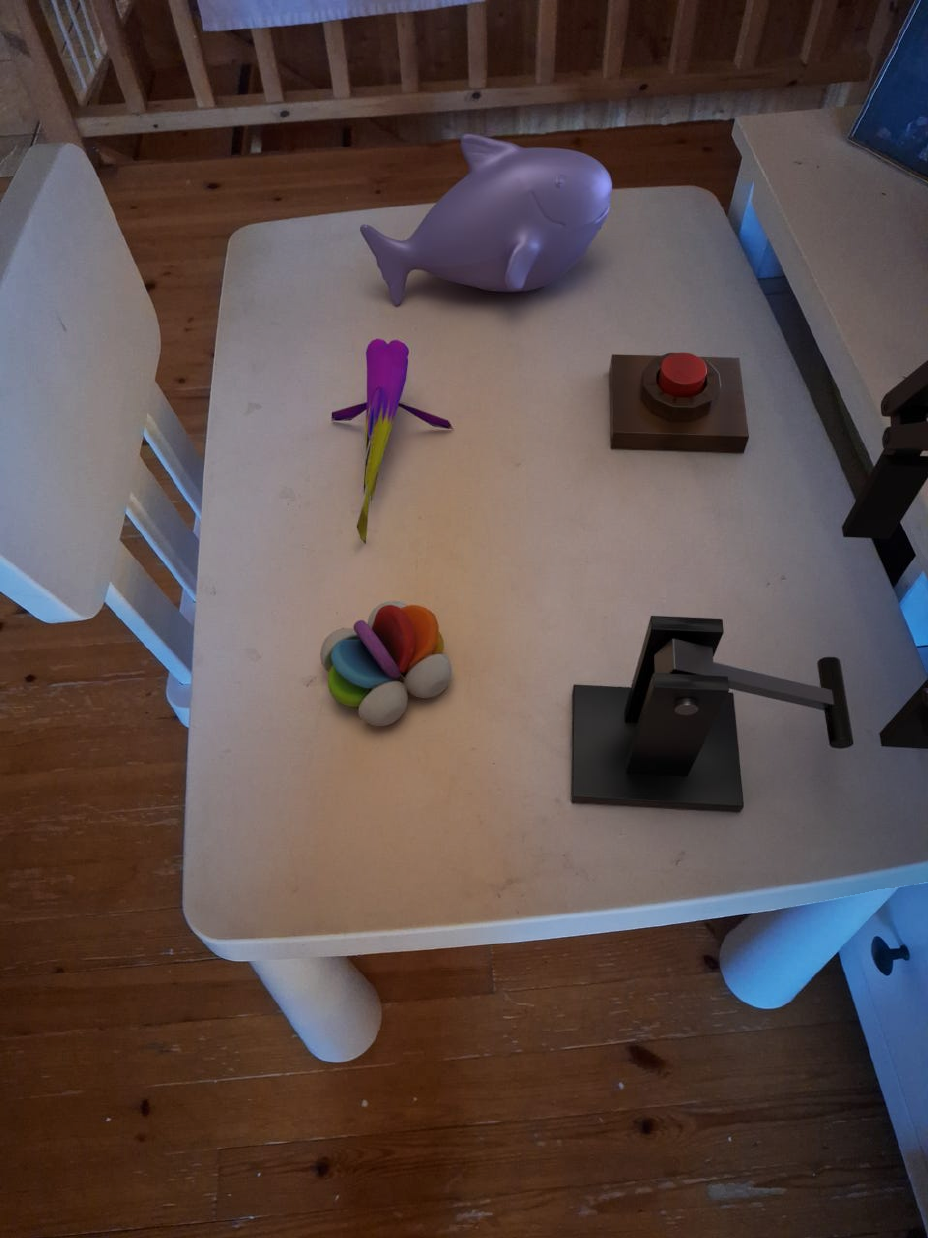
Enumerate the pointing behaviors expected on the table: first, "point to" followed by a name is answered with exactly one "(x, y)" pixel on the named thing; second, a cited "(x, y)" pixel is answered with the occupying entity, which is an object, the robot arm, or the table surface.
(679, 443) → the button block
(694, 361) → the button
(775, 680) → the t-handle lever
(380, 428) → the toy
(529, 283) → the toy whale
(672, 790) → the bracket
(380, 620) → the fanned rainbow disc cluster
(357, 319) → the table surface
